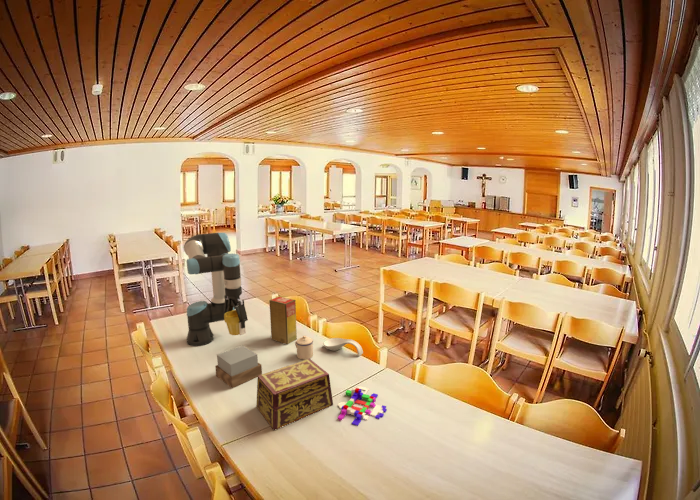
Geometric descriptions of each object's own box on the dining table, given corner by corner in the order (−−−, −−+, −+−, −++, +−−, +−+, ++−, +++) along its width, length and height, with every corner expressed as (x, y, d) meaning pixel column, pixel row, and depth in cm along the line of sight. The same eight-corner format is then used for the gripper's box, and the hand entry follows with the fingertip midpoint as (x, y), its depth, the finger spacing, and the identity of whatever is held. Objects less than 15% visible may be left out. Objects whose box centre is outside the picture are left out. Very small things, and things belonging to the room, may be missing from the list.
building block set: (374, 432, 143) (374, 422, 142) (327, 418, 152) (327, 408, 151) (395, 397, 165) (395, 388, 164) (353, 386, 174) (353, 377, 173)
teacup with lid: (317, 355, 203) (316, 335, 200) (304, 361, 196) (303, 341, 194) (302, 348, 210) (301, 329, 208) (289, 354, 204) (288, 335, 201)
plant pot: (252, 329, 182) (250, 310, 180) (239, 338, 172) (237, 318, 170) (234, 326, 185) (232, 308, 183) (220, 335, 176) (219, 316, 174)
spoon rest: (319, 350, 209) (319, 338, 208) (330, 342, 219) (330, 330, 218) (356, 360, 198) (356, 347, 196) (366, 350, 208) (366, 339, 206)
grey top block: (217, 365, 182) (216, 354, 181) (243, 356, 192) (242, 345, 190) (231, 376, 172) (230, 364, 171) (258, 365, 182) (257, 354, 181)
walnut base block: (216, 376, 183) (215, 365, 182) (245, 364, 195) (244, 354, 194) (232, 389, 173) (231, 377, 171) (262, 375, 184) (261, 364, 183)
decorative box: (274, 431, 144) (271, 396, 141) (256, 407, 159) (253, 375, 156) (333, 405, 160) (332, 373, 156) (312, 385, 174) (311, 356, 171)
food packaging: (297, 338, 223) (296, 299, 218) (287, 344, 216) (285, 304, 210) (281, 333, 230) (279, 295, 225) (270, 339, 223) (268, 300, 217)
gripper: (213, 283, 179) (217, 326, 183) (238, 293, 164) (242, 340, 168) (228, 280, 184) (231, 322, 189) (253, 289, 169) (256, 335, 174)
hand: (236, 330), depth 178 cm, fingers closed on plant pot, 10 cm apart
